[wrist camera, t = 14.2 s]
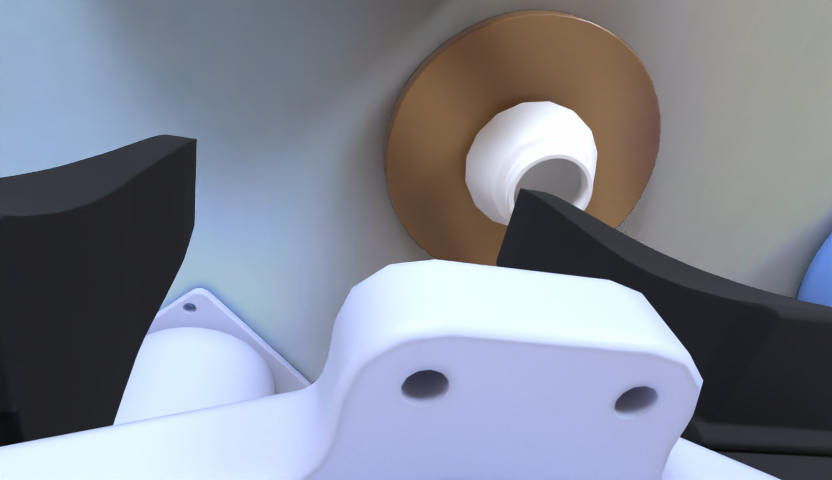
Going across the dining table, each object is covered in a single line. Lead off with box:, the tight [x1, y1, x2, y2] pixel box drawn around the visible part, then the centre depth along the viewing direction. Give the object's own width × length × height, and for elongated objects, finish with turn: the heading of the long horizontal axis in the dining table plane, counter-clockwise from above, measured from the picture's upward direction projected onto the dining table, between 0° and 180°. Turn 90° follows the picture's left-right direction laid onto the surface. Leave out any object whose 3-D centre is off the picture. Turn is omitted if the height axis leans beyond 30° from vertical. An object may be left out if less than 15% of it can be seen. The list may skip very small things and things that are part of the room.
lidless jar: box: [465, 101, 597, 226], centre depth 21 cm, size 5×3×5 cm
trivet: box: [384, 10, 660, 267], centre depth 22 cm, size 11×11×1 cm
